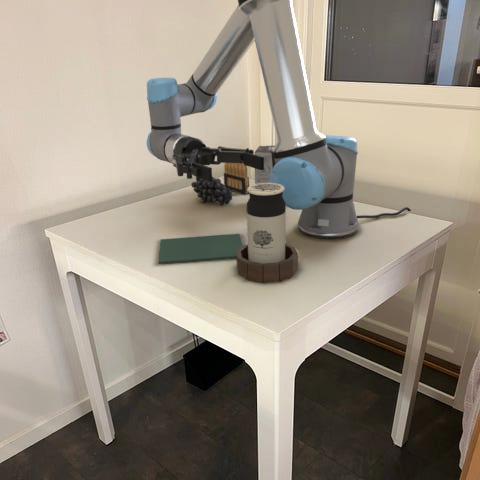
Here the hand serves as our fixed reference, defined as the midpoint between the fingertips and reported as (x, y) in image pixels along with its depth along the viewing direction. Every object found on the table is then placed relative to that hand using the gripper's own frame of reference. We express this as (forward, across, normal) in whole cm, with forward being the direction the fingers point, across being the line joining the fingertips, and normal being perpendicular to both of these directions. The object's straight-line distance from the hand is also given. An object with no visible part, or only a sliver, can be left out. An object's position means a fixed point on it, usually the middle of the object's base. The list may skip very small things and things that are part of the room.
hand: (237, 169), depth 102 cm
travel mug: (+10, 0, -20) cm, 22 cm away
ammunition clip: (-43, -30, -20) cm, 56 cm away
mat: (-9, +5, -20) cm, 23 cm away
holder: (+10, 0, -20) cm, 22 cm away
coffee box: (-26, -29, -20) cm, 43 cm away
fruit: (-38, -17, -20) cm, 46 cm away
